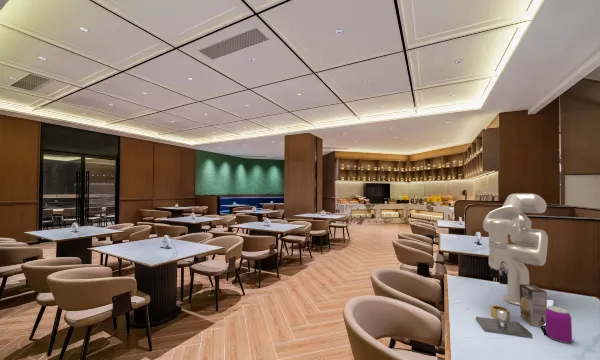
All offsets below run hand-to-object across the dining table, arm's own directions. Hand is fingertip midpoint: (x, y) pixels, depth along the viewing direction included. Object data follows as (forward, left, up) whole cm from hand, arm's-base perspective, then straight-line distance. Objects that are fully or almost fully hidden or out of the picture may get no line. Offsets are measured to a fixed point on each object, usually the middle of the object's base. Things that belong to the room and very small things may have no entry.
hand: (499, 280), depth 128 cm
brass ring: (0, 0, -17) cm, 17 cm away
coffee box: (-13, +1, -18) cm, 22 cm away
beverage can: (-15, +15, -18) cm, 28 cm away
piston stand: (+4, +12, -17) cm, 22 cm away
